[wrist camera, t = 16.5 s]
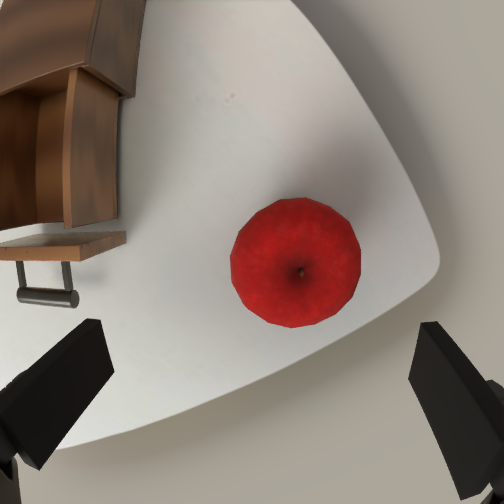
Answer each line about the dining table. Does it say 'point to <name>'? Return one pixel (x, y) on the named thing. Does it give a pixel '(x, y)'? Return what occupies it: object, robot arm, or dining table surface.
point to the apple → (296, 262)
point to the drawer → (58, 174)
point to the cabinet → (70, 41)
